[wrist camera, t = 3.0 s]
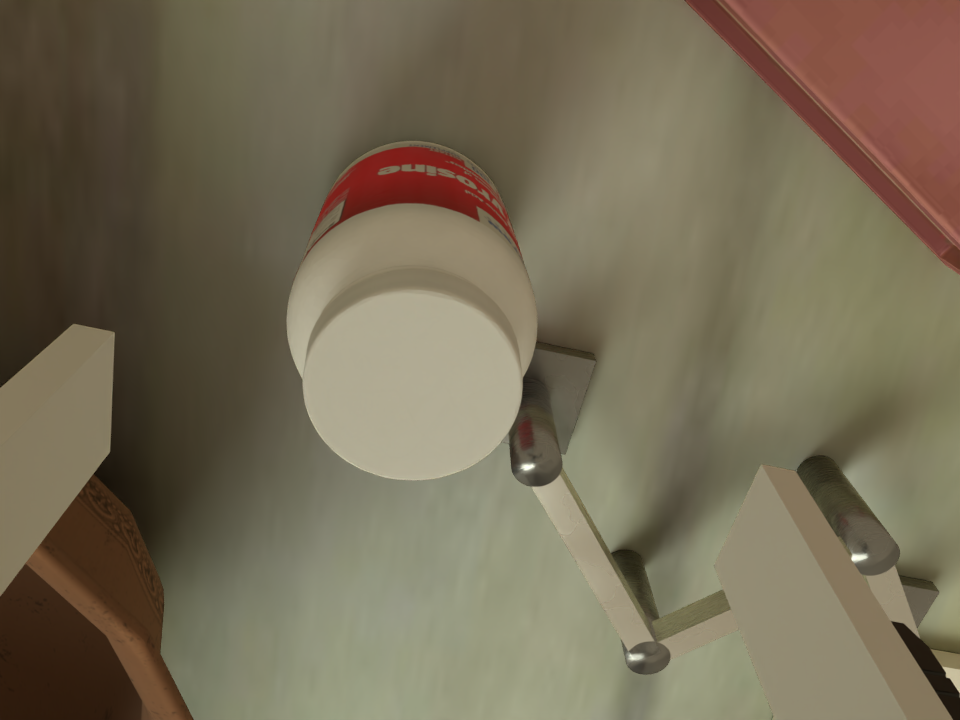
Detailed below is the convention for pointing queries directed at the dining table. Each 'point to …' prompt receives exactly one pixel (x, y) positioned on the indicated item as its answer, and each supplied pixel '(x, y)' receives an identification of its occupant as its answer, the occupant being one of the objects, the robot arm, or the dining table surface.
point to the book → (867, 93)
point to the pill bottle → (412, 314)
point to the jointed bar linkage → (621, 576)
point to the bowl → (87, 623)
